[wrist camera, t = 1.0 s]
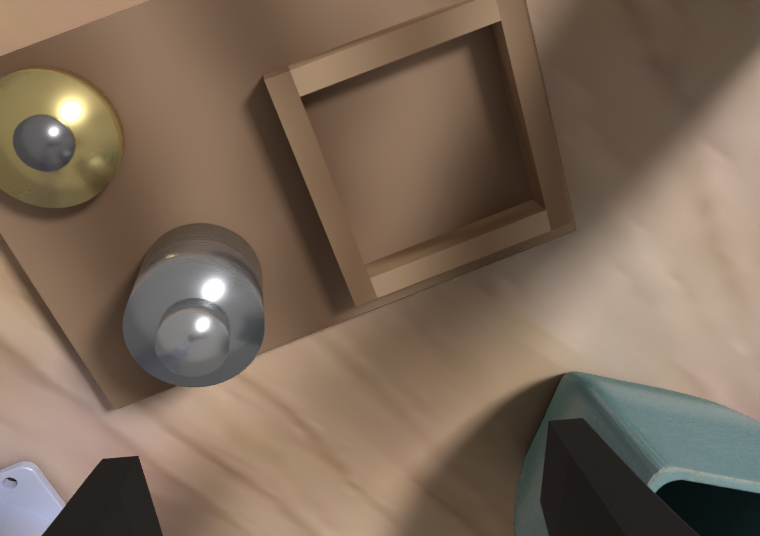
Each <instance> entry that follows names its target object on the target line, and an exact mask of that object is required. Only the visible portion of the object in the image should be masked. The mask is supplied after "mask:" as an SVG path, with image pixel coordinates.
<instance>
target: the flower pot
mask: <svg viewBox="0 0 760 536" xmlns="http://www.w3.org/2000/svg"><path fill="white" fill-rule="evenodd" d="M575 418H583V419H584V420H585V421H587V422H588V423H589V424H590V426H591V427H592V428H593V429H594V430H595V431H596V432H597V433H598V434H599V435H600V436H601V437H602V439H603V440H604V441H605V442H606V443H607V444H608V445H609V446H610V447H611V448H612V449H613V450H614V451H615V452H616V454H617V455H618V456H619V457H620V458H621V459H622V460H623V461H624V462H625V463H626V464H627V465H628V466H629V467H630V468H631V469H632V470H633V471H634V472H635V473H636V475H637V476H638V477H639V478H640V479H641V480H642V481H643V482H644V483H645V484H646V485H647V486H648V487H649V488H650V489H651V490H652V491H653V492H654V493H655V494H656V495H657V496H658V497H659V498H661V499H662V500H663V501H664V502H665V503H666V504H667V505H668V506H669V507H670V508H671V509H672V510H673V511H674V512H675V513H676V514H677V515H678V516H679V517H680V518H681V519H682V520H683V521H684V522H685V523H687V524H688V525H689V526H690V527H691V528H692V529H693V530H694V531H695V532H696V533H697V534H698V535H700V536H760V423H759V422H757V421H756V420H754V419H752V418H750V417H748V416H746V415H744V414H741V413H739V412H737V411H735V410H733V409H730V408H728V407H725V406H723V405H720V404H717V403H715V402H711V401H708V400H705V399H702V398H699V397H695V396H691V395H687V394H683V393H679V392H675V391H670V390H666V389H662V388H656V387H651V386H646V385H642V384H636V383H631V382H626V381H621V380H616V379H611V378H606V377H601V376H597V375H592V374H587V373H582V372H569V373H566V374H565V375H564V376H563V377H562V379H561V381H560V383H559V385H558V387H557V389H556V391H555V393H554V396H553V398H552V400H551V402H550V404H549V407H548V409H547V411H546V413H545V416H544V418H543V420H542V422H541V424H540V427H539V429H538V431H537V433H536V435H535V437H534V439H533V441H532V443H531V446H530V448H529V450H528V452H527V454H526V456H525V459H524V462H523V465H522V470H521V473H520V477H519V482H518V487H517V492H516V498H515V508H514V536H549V534H548V531H547V527H546V523H545V519H544V515H543V511H542V507H541V503H540V496H541V487H542V477H543V468H544V459H545V449H546V440H547V430H548V421H552V420H563V419H575Z"/></svg>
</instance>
